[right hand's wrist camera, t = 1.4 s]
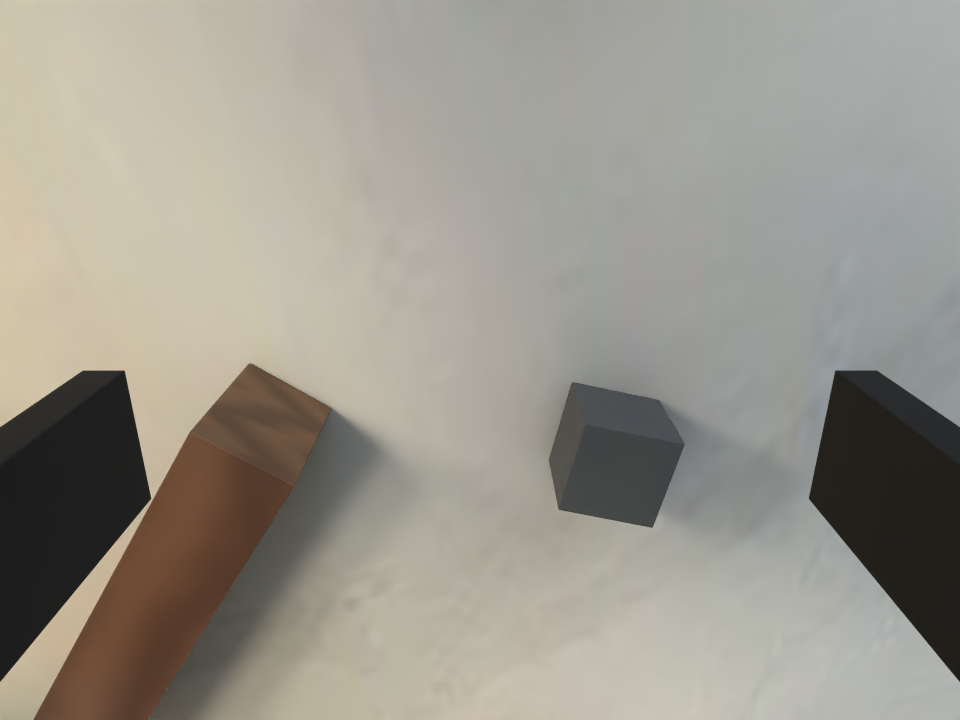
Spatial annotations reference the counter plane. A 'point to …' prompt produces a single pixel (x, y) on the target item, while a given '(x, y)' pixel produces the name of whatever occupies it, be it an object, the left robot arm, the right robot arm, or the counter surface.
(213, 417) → the plank
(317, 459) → the counter surface
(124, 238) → the counter surface
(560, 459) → the grey block
